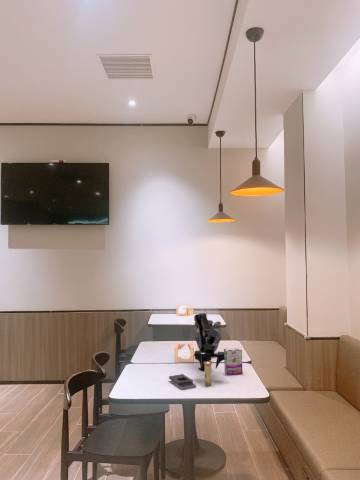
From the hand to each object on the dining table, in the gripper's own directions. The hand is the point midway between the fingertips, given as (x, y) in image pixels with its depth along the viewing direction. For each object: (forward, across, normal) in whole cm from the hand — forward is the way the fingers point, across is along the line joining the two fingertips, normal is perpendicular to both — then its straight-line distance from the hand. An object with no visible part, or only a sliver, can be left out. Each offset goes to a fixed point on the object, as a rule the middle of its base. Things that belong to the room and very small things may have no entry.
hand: (208, 367), depth 219 cm
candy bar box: (-9, +14, +23) cm, 28 cm away
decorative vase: (-40, -9, +54) cm, 68 cm away
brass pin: (+8, 0, +5) cm, 10 cm away
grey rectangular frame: (+9, -16, +5) cm, 19 cm away
